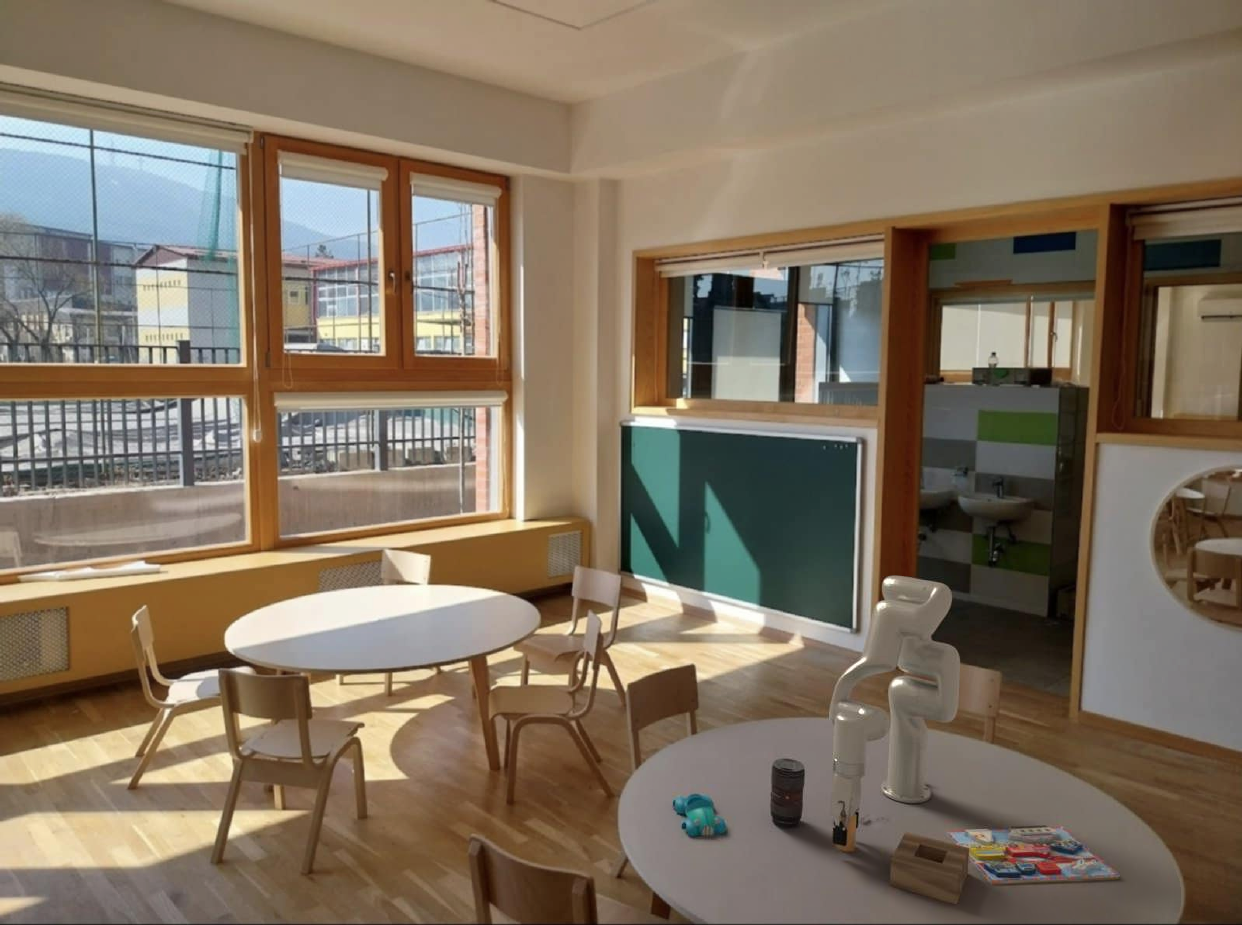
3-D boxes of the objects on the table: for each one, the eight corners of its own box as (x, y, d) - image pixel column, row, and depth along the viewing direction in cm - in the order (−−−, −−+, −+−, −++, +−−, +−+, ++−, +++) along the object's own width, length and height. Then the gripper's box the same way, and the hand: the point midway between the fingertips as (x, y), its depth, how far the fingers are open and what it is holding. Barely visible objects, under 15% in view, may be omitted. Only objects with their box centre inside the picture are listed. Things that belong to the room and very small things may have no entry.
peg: (838, 840, 222) (840, 808, 221) (857, 845, 220) (858, 813, 219) (833, 848, 218) (834, 815, 217) (851, 853, 216) (853, 820, 215)
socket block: (904, 856, 215) (905, 831, 214) (967, 873, 208) (969, 848, 208) (889, 885, 203) (891, 859, 202) (956, 904, 196) (958, 877, 195)
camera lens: (802, 831, 225) (805, 772, 224) (768, 828, 227) (771, 769, 225) (802, 816, 233) (805, 759, 232) (770, 812, 235) (772, 755, 233)
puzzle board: (1062, 830, 230) (1062, 820, 229) (1120, 882, 207) (1121, 871, 207) (944, 834, 227) (944, 824, 226) (990, 887, 204) (991, 876, 204)
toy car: (686, 839, 222) (686, 812, 221) (668, 803, 239) (669, 779, 238) (729, 835, 224) (730, 809, 223) (709, 801, 241) (709, 776, 240)
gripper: (843, 749, 226) (840, 816, 228) (822, 775, 211) (818, 846, 213) (874, 756, 222) (870, 824, 224) (854, 783, 207) (851, 856, 209)
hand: (845, 835), depth 218 cm, fingers open, 9 cm apart
